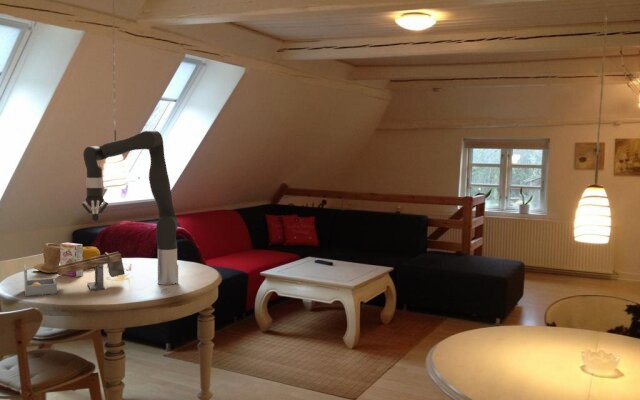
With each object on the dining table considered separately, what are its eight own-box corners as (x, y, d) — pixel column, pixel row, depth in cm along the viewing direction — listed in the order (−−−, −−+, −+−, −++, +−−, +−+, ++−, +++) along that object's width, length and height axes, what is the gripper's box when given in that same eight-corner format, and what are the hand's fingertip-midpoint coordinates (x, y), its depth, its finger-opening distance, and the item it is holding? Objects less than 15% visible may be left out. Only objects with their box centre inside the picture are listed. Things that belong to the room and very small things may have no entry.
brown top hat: (68, 272, 307) (67, 244, 306) (45, 275, 298) (44, 246, 297) (55, 267, 317) (54, 240, 316) (32, 271, 308) (32, 242, 307)
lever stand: (100, 283, 284) (100, 259, 282) (104, 289, 272) (104, 264, 271) (87, 284, 281) (87, 260, 280) (91, 290, 269) (90, 265, 268)
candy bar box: (59, 275, 300) (59, 243, 299) (67, 273, 305) (67, 242, 303) (75, 277, 295) (75, 245, 294) (83, 275, 300) (83, 244, 298)
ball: (34, 279, 265) (29, 287, 264) (35, 281, 262) (29, 289, 261) (42, 284, 267) (36, 291, 266) (43, 286, 264) (37, 293, 263)
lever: (119, 268, 291) (115, 247, 289) (124, 274, 279) (120, 252, 277) (59, 283, 278) (54, 261, 276) (62, 290, 266) (57, 267, 264)
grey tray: (54, 287, 274) (54, 262, 273) (56, 293, 263) (56, 267, 262) (24, 290, 268) (23, 264, 267) (25, 296, 257) (24, 269, 255)
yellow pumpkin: (70, 267, 320) (70, 246, 319) (93, 264, 329) (93, 243, 328) (82, 270, 311) (82, 249, 310) (105, 267, 321) (104, 246, 320)
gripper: (107, 186, 297) (107, 219, 298) (79, 186, 290) (79, 221, 292) (109, 187, 290) (110, 221, 292) (81, 187, 284) (81, 222, 285)
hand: (95, 221), depth 292 cm, fingers closed
